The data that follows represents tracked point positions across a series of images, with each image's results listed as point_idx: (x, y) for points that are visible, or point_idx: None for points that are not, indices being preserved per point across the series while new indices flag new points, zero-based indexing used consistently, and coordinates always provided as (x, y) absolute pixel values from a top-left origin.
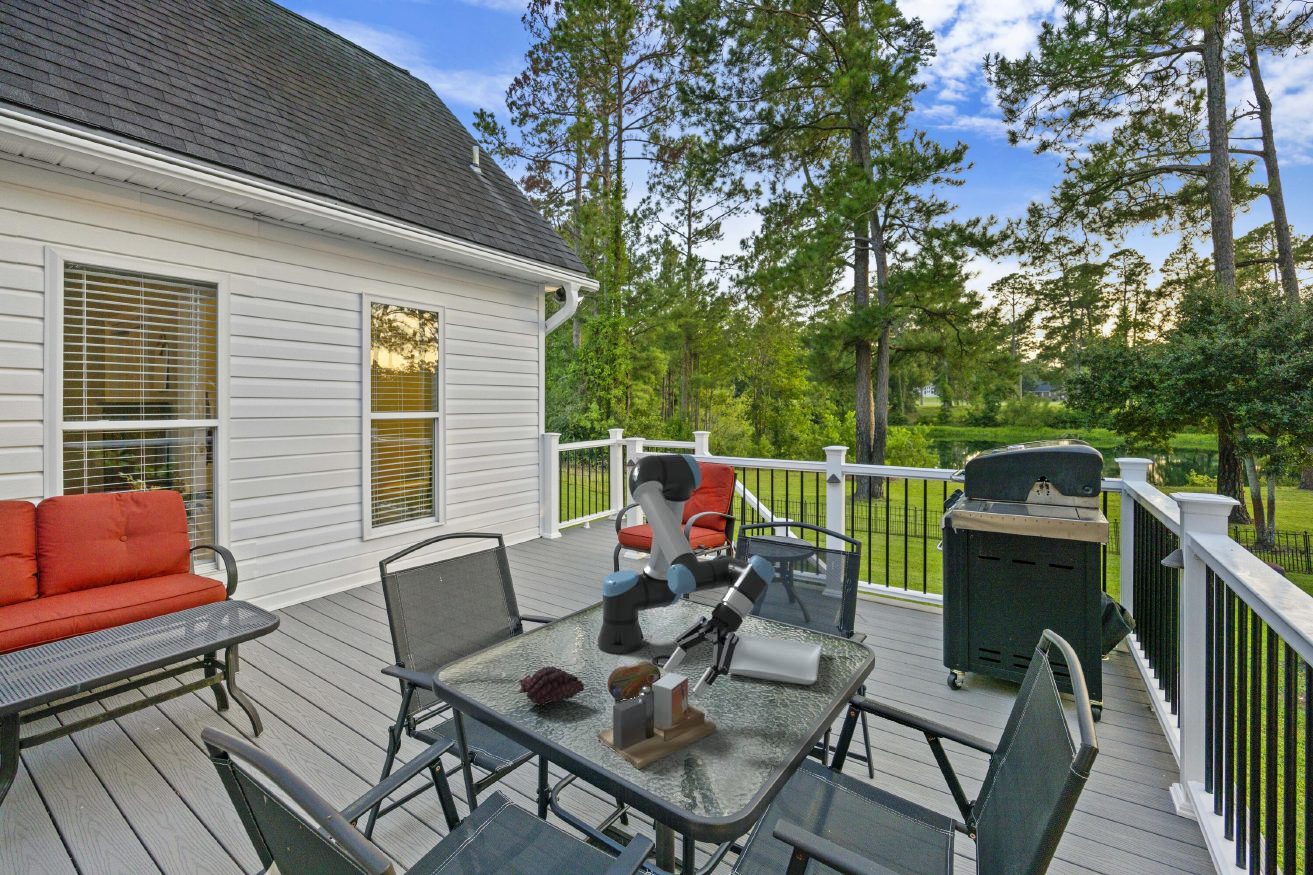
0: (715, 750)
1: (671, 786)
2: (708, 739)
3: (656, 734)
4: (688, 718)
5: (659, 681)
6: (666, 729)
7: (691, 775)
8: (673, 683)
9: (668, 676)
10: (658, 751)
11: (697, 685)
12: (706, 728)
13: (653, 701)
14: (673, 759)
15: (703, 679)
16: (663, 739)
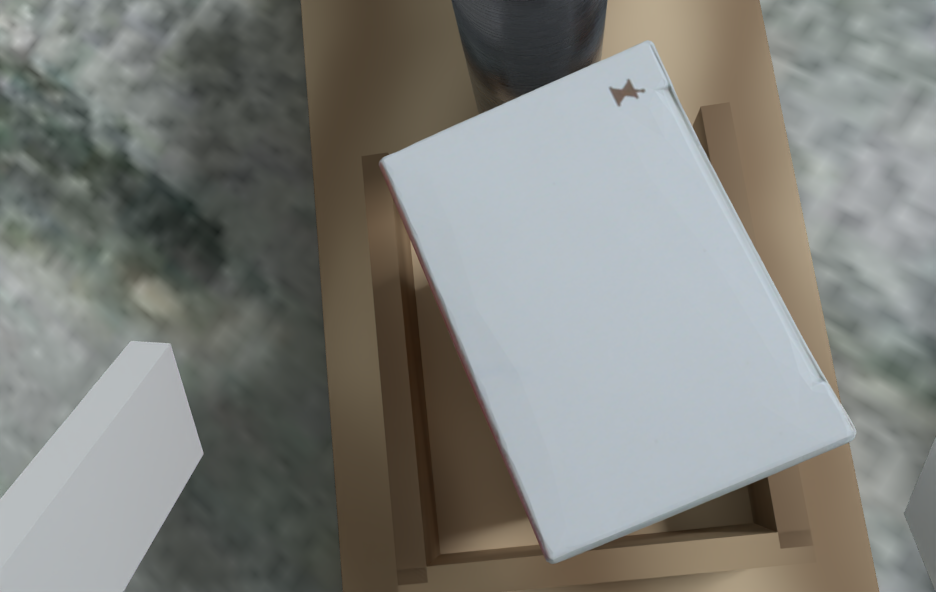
0: None
1: (83, 34)
2: (307, 511)
3: None
4: None
5: (657, 149)
6: (382, 174)
7: (85, 176)
8: (491, 265)
9: (722, 333)
10: (319, 86)
11: (98, 400)
12: (352, 548)
13: (455, 6)
14: (266, 174)
15: (13, 497)
16: None
